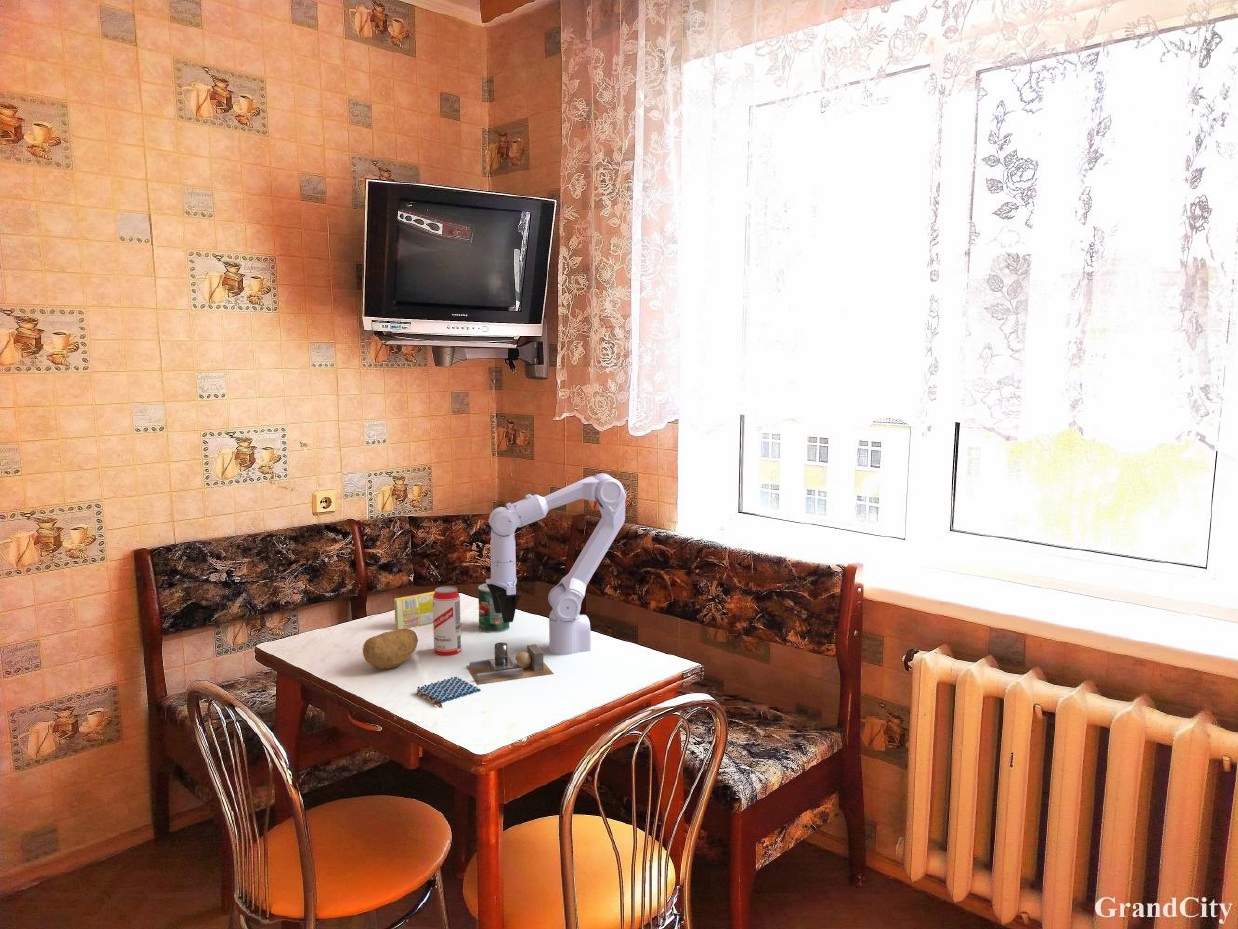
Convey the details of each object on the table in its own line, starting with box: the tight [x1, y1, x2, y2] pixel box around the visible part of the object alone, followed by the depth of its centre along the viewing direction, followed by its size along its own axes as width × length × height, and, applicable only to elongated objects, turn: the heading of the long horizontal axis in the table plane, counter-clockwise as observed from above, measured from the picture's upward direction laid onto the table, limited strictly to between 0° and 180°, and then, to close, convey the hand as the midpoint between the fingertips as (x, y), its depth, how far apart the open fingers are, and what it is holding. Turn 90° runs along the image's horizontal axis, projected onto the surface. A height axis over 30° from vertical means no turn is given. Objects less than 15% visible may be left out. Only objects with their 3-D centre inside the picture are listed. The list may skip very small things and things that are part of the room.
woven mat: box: [415, 676, 481, 708], centre depth 178 cm, size 10×11×2 cm
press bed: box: [465, 643, 555, 686], centre depth 189 cm, size 17×12×5 cm
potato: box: [362, 628, 419, 669], centre depth 194 cm, size 10×14×8 cm
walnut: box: [514, 651, 531, 668], centre depth 190 cm, size 4×4×4 cm
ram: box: [489, 642, 517, 672], centre depth 188 cm, size 5×6×6 cm
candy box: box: [393, 590, 435, 630], centre depth 224 cm, size 16×2×8 cm, turn 126°
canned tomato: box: [477, 582, 510, 634], centre depth 221 cm, size 8×8×11 cm
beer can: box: [432, 585, 462, 657], centre depth 200 cm, size 6×6×16 cm
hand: (504, 617), depth 198 cm, fingers open, 7 cm apart
